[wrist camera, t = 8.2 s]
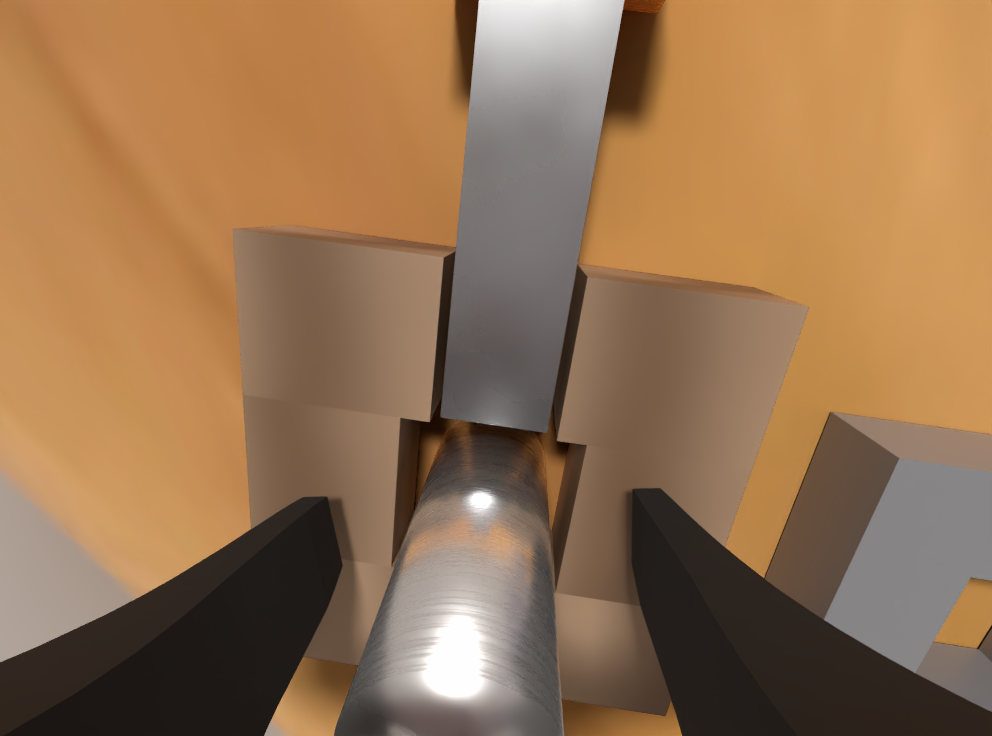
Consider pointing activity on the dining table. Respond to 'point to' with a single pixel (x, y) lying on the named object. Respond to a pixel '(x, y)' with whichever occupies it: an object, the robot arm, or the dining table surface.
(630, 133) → the dining table surface
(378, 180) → the dining table surface
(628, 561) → the socket block
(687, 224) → the dining table surface
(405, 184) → the dining table surface
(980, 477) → the block
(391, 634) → the peg
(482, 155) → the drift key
